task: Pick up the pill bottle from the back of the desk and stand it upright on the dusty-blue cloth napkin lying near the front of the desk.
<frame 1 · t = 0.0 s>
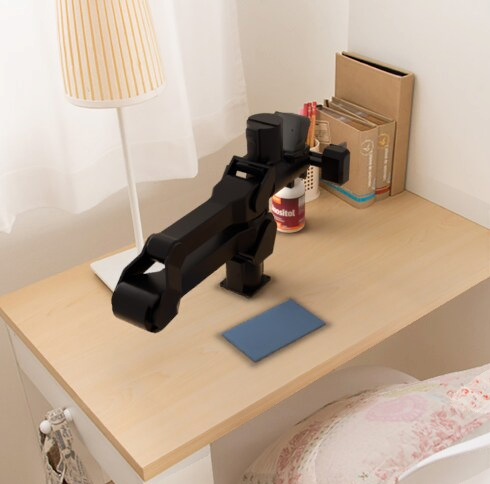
hand: (323, 138, 134), 17 cm above the table, tool horizontal, fingers open, 9 cm apart
pill bottle: (288, 226, 142), on the table
napkin: (274, 330, 116), on the table
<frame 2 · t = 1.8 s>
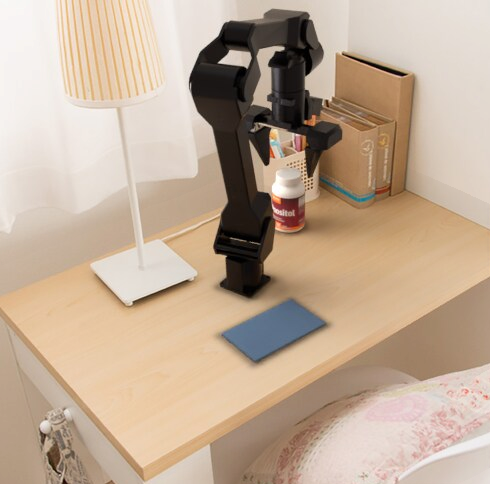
hand: (288, 171, 135), 11 cm above the table, tool pointing down, fingers open, 9 cm apart
nothing on the table moved.
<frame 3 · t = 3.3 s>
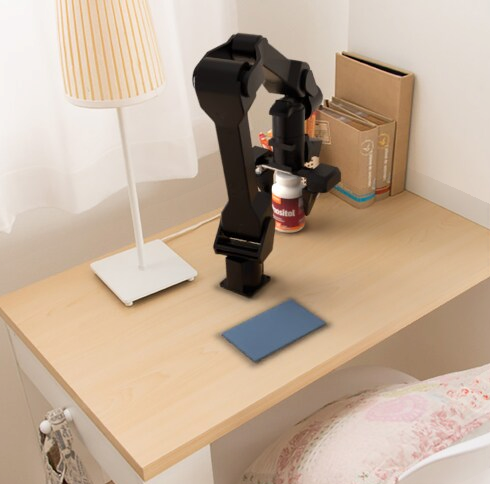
hand: (289, 209, 140), 3 cm above the table, tool pointing down, fingers closed on pill bottle, 8 cm apart
pill bottle: (288, 226, 142), on the table, touching gripper
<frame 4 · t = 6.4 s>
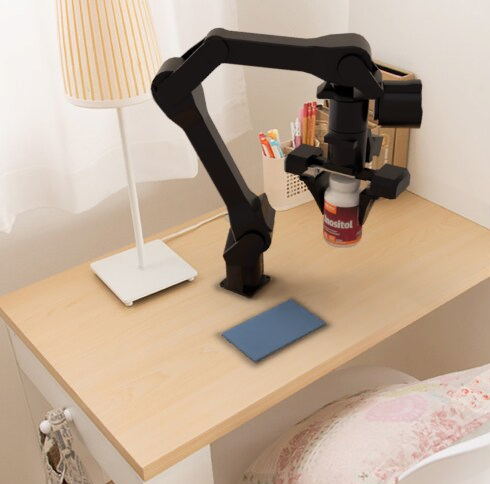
hand: (343, 219, 118), 13 cm above the table, tool pointing down, fingers closed on pill bottle, 6 cm apart
pill bottle: (342, 240, 120), point 9 cm above the table, touching gripper
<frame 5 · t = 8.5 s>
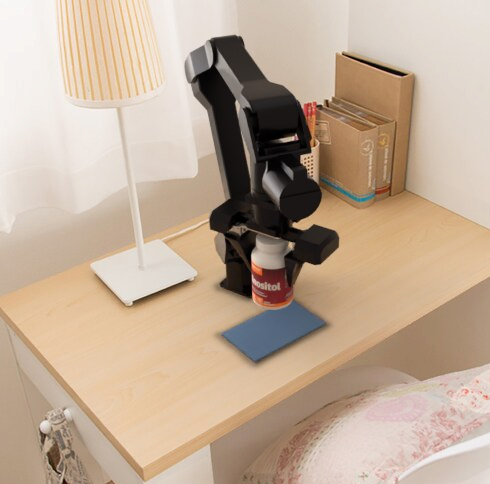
hand: (273, 279, 110), 9 cm above the table, tool pointing down, fingers closed on pill bottle, 6 cm apart
pill bottle: (273, 300, 113), point 6 cm above the table, touching gripper
when the fingers open (4 cm above the table, at t = 10.2 s): pill bottle stays where it is, resting on napkin.
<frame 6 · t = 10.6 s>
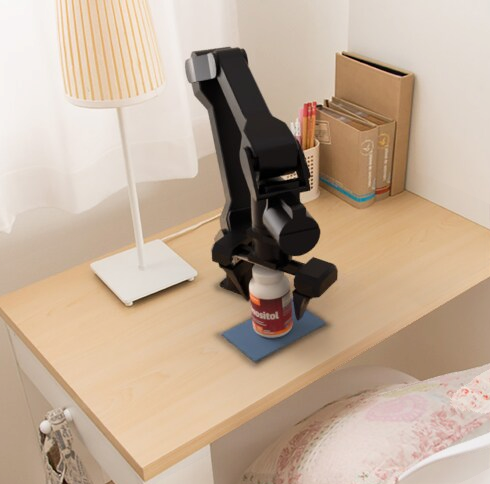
hand: (273, 309, 113), 4 cm above the table, tool pointing down, fingers open, 9 cm apart
pill bottle: (273, 328, 115), resting on napkin
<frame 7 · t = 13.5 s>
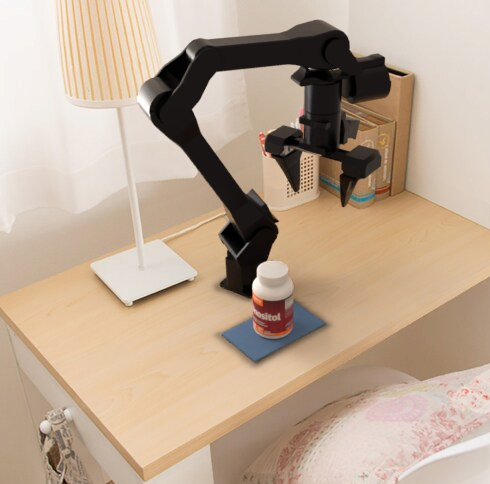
hand: (320, 198, 123), 13 cm above the table, tool pointing down, fingers open, 9 cm apart
nothing on the table moved.
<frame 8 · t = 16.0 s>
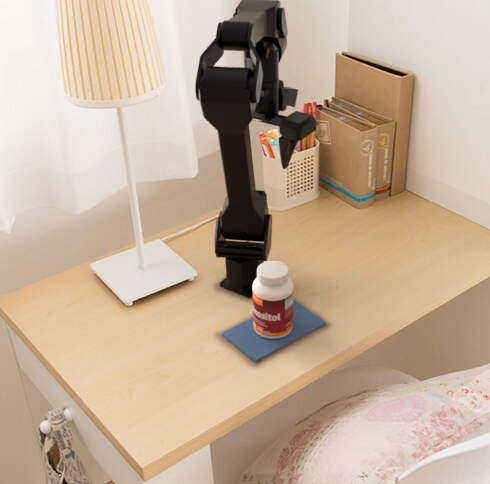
hand: (263, 162, 135), 13 cm above the table, tool pointing down, fingers open, 9 cm apart
nothing on the table moved.
at the end: pill bottle inside the target area on the napkin (0.1 cm from its centre), point 0.2 cm above the napkin's base; pill bottle tilted 0°; the gripper is holding nothing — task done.
